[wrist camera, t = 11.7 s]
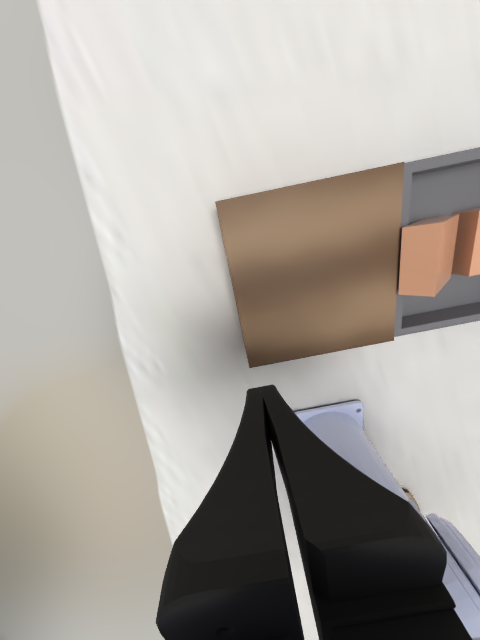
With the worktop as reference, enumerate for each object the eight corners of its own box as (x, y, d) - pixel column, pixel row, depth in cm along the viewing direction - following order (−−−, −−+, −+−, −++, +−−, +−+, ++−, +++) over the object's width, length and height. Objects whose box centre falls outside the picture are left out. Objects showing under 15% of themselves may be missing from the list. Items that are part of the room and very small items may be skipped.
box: (498, 301, 20) (534, 310, 18) (374, 325, 20) (393, 337, 18) (535, 140, 16) (588, 124, 14) (378, 173, 16) (403, 163, 14)
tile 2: (417, 277, 18) (450, 278, 17) (398, 294, 16) (434, 296, 14) (422, 219, 17) (459, 213, 15) (402, 227, 14) (443, 222, 13)
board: (371, 326, 20) (393, 340, 18) (246, 350, 21) (249, 368, 18) (374, 174, 16) (404, 161, 13) (217, 207, 16) (215, 201, 14)
